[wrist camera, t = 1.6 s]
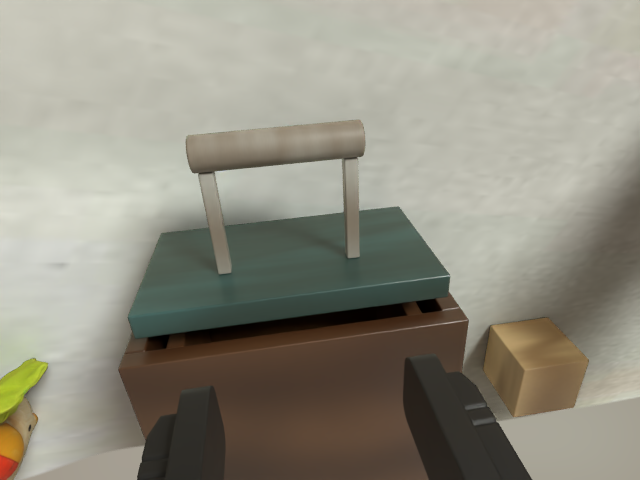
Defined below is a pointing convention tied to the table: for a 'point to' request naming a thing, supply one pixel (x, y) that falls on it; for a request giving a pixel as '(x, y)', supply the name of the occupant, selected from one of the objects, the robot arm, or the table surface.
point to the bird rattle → (17, 415)
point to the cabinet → (304, 393)
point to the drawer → (283, 252)
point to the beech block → (534, 366)
